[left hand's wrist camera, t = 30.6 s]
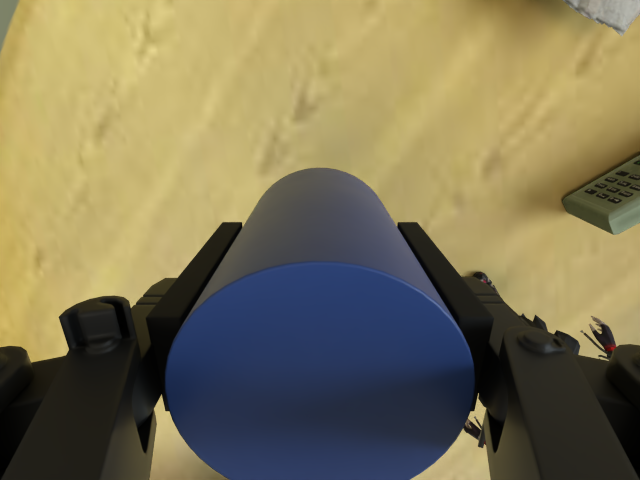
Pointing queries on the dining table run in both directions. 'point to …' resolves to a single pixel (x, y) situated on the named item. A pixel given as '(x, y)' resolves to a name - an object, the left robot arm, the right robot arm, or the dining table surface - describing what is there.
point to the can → (319, 345)
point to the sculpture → (608, 12)
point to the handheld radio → (610, 199)
